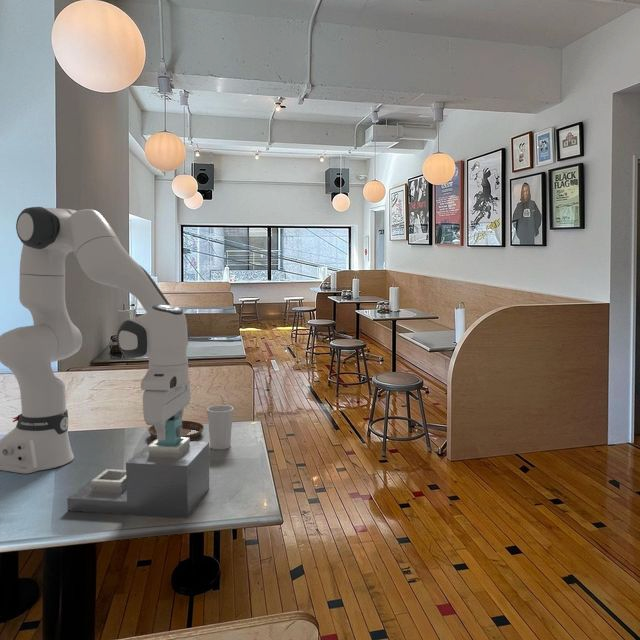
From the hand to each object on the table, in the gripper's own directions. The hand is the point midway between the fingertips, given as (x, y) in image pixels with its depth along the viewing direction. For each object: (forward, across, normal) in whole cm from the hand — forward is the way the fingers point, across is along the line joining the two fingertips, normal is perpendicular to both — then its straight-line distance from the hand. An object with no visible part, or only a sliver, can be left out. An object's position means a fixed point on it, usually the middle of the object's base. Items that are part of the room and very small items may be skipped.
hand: (169, 433), depth 124 cm
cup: (+17, -39, +1) cm, 42 cm away
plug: (+5, 0, 0) cm, 5 cm away
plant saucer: (+17, -47, -16) cm, 53 cm away
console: (+16, 0, -7) cm, 18 cm away
